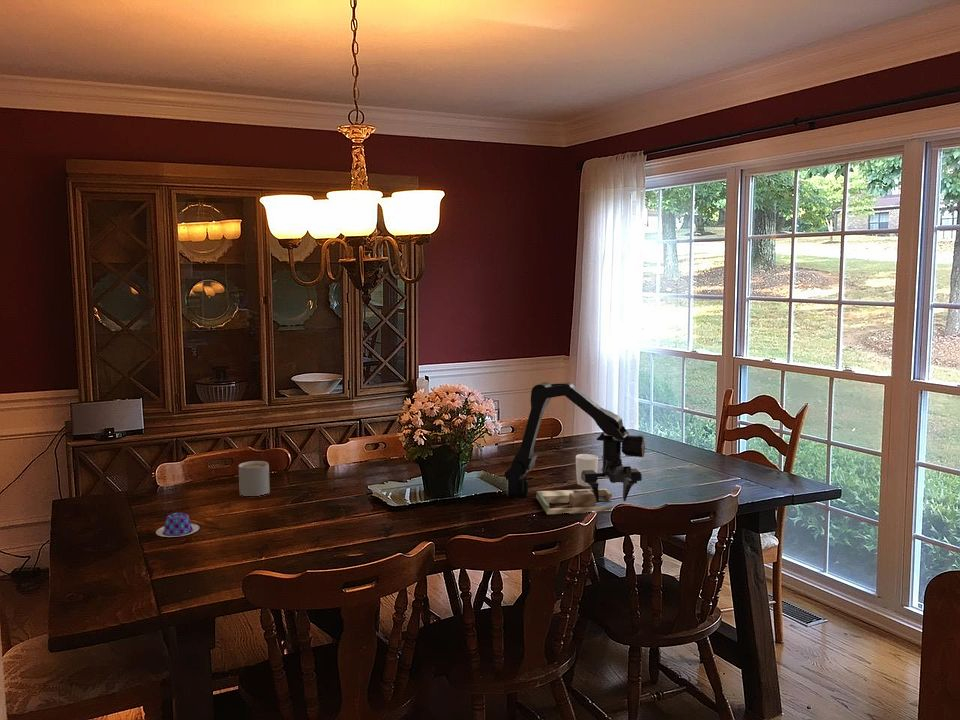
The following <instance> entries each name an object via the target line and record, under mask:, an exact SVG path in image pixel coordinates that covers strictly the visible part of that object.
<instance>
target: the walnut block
mask: <svg viewBox="0 0 960 720" xmlns="http://www.w3.org/2000/svg"><path fill="white" fill-rule="evenodd" d="M569 505H570V506H571V507H572V508H578V507H596V502H595V496H594V495H593V494H592V493H590V492H582V493H570V494H569V503H568V506H569ZM570 506H569V507H570ZM571 507H570V508H571Z"/></svg>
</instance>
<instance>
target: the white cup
mask: <svg viewBox="0 0 960 720" xmlns="http://www.w3.org/2000/svg"><path fill="white" fill-rule="evenodd" d="M598 466H599V456H598V455H596V454H589V453H582V454H577V455H575V470H576V471H575V472H576V473H575V475H576V484H577V485H578V486H580V485H581V487H591V486H590V485H589V484H588V483H585V482H584V481H583V480H582V479H581V473H582V471H583V470H594V471H595V472H596V473H598Z"/></svg>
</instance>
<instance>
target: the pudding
mask: <svg viewBox="0 0 960 720" xmlns="http://www.w3.org/2000/svg"><path fill="white" fill-rule="evenodd" d="M199 529H200V525H197V524H196V523H191V520H190V517H189V515H188V514H187V513H185V512H174V513H170V514H168V515H167V516H166V518H165V521H164V526H162V527H160V528H158V529H157V530H156V531H155V534H156V535H157V536H160V537H163V538H164V537H166V538H174V537H184V536H188V535H191V534H194V533H195V532H197V531H199Z"/></svg>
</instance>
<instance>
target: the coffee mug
mask: <svg viewBox="0 0 960 720" xmlns="http://www.w3.org/2000/svg"><path fill="white" fill-rule="evenodd" d="M238 488H239V496H241V495H243V496H259V497H261V496H260V495H264V494H267V493H268V494H270V491H271V490H270V465H269V462H267V461H264V460H251V461H246V462H242V463H239V464H238ZM268 494H267V495H268ZM243 496H242V497H243ZM264 496H265V495H264Z"/></svg>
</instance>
